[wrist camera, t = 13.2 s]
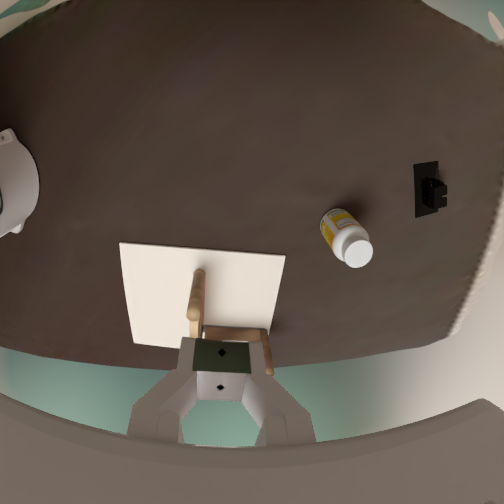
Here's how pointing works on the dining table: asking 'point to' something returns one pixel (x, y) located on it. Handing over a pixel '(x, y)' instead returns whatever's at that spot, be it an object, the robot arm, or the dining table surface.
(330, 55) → the dining table surface
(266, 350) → the fixed fence section
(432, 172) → the black blocky piece
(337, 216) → the supplement bottle
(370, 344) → the dining table surface
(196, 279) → the folding fence section
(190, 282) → the card
